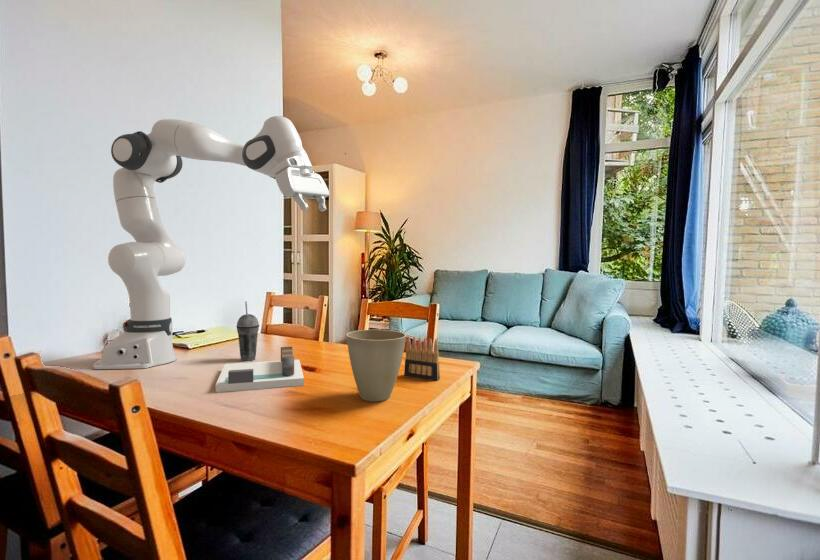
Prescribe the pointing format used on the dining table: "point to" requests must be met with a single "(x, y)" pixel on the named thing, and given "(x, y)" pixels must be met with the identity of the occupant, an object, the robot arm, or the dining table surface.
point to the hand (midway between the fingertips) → (314, 210)
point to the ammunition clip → (422, 360)
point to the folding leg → (287, 361)
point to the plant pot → (375, 361)
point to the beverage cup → (247, 336)
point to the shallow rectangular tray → (257, 376)
